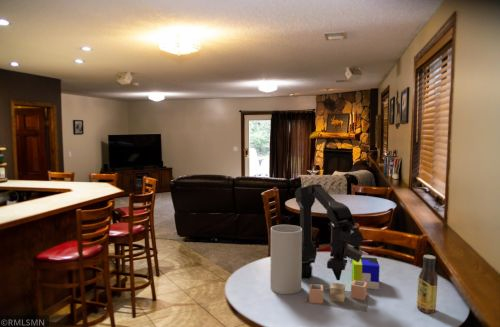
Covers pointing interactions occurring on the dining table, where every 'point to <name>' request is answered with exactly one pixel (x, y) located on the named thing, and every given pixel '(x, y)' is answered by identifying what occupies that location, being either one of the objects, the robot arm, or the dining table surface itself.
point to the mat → (347, 304)
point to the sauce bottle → (427, 285)
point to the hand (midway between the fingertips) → (338, 279)
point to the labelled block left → (316, 293)
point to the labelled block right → (359, 290)
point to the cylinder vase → (286, 259)
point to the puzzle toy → (366, 271)
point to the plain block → (337, 292)
